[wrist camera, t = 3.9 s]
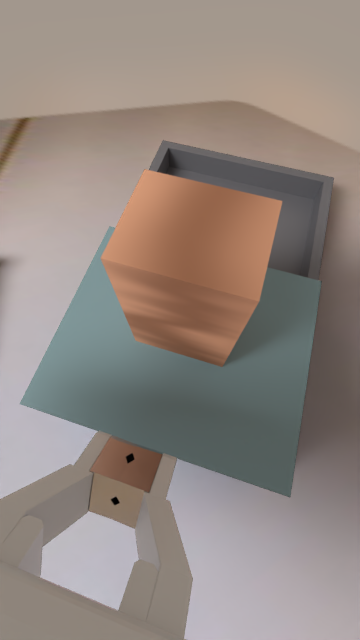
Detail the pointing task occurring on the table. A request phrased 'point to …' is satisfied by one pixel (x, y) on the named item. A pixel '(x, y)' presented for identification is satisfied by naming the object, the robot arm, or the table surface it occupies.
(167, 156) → the box
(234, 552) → the table surface
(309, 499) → the table surface
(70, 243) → the table surface
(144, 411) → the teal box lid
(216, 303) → the terracotta block
